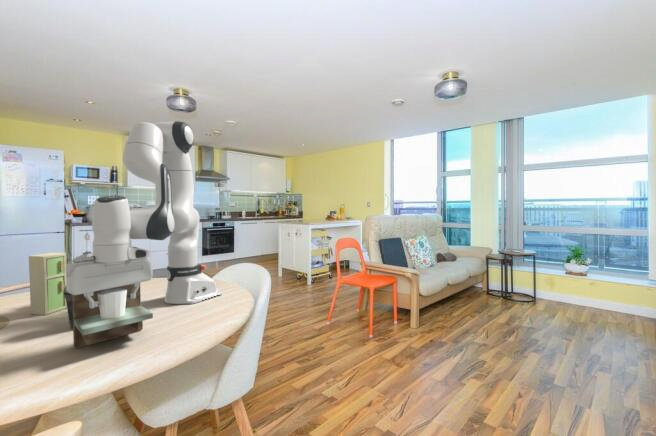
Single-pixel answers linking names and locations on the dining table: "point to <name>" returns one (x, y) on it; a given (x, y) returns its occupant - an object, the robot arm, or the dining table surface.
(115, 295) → the white cup
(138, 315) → the wall shelf
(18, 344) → the dining table surface
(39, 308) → the toy refrigerator
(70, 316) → the beverage cup
